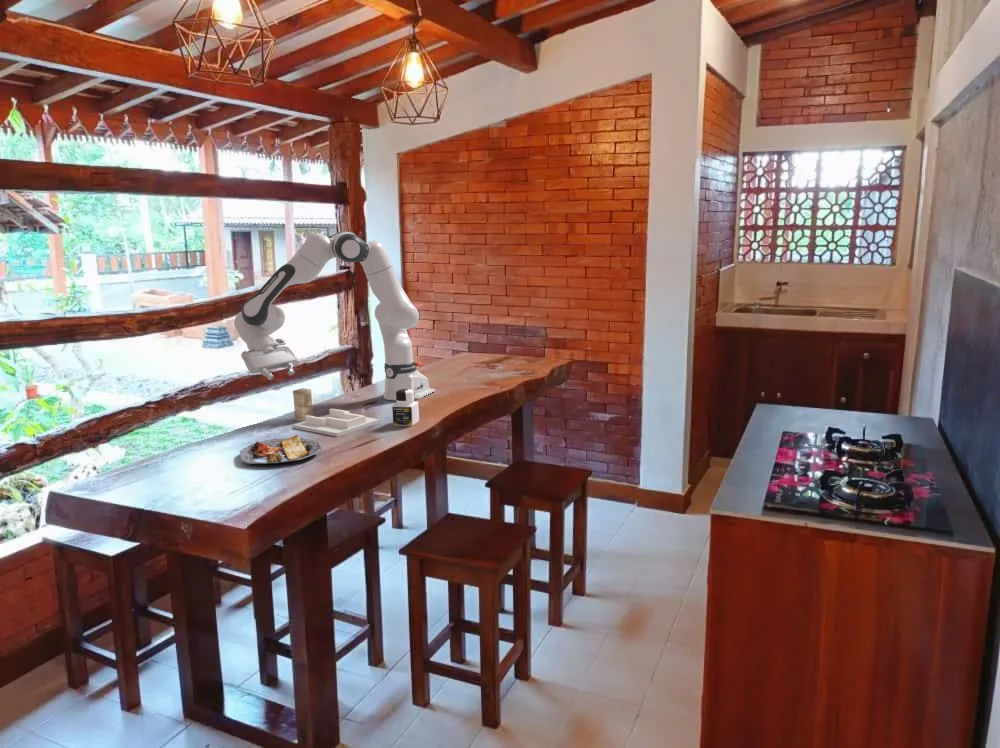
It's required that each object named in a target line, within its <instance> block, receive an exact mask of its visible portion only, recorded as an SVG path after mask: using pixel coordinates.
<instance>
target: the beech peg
mask: <svg viewBox="0 0 1000 748" xmlns="http://www.w3.org/2000/svg"><path fill="white" fill-rule="evenodd" d="M292 394H293V395H292V396H293V408H294V418H295V421H297V420H298V421H297V422H304V421H305V416H307V415H309V416H314V408H313V396H312V389H310V388H303V387H302V388H298V389H294V390H292Z"/></svg>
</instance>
